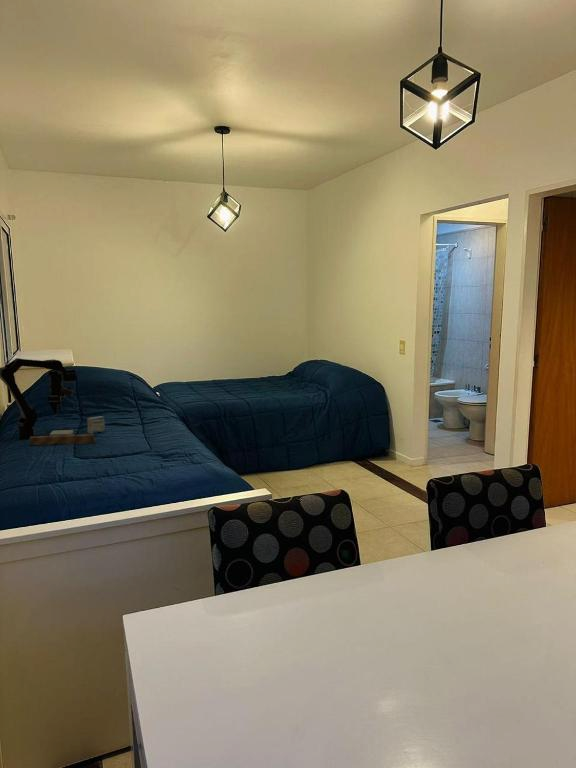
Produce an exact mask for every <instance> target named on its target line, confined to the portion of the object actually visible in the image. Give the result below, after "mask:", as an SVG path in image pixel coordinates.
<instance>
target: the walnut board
mask: <svg viewBox="0 0 576 768" xmlns="http://www.w3.org/2000/svg"><path fill="white" fill-rule="evenodd" d="M95 435H96V434H89V433H87V434H74V435H59V436H50V435H40V436H39V435H37V436H33V437H30V439H29V446H30V445H39V446H48V445H47V444H63V445H80V444H81V445H83V444H87V445H88V444H95V442H96V441H95V437H96V436H95Z"/></svg>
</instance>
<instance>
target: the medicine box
mask: <svg viewBox="0 0 576 768" xmlns="http://www.w3.org/2000/svg"><path fill="white" fill-rule="evenodd" d="M86 419H87V434H89V433H90V434H94V433H97V434H99V433H98V432H102V431H105V430H106V428H105V425H106V424H105V416H103V415H102V416H101V415H98V416H92V417H87V418H86ZM105 432H106V431H105ZM102 433H103V432H102Z"/></svg>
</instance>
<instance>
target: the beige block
mask: <svg viewBox="0 0 576 768" xmlns="http://www.w3.org/2000/svg"><path fill="white" fill-rule="evenodd" d="M59 435H75V434H74V429H62V430H61V429H59V430H57V429H56V430H52V431H51V432H50V433H49V436H59Z"/></svg>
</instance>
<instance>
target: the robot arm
mask: <svg viewBox="0 0 576 768" xmlns="http://www.w3.org/2000/svg"><path fill="white" fill-rule="evenodd" d="M21 367H28V368H40V369H43V368H44V369H47V370H48V371H47V372H46V373H45V375H46V376H49V388H50V393H49V395H48V397H46V398H47V402H48V403H49V405H50V407H51V409H52V411H53V413H54V414H57V413H58V411H60V410H61V409H60V408H61V404H62V400H63V399H64V398H65V396H67V397H69V398H70V397H72V396H73V393H74V389H73V387H71V386H68V387H64V385H63V383H74V382H77V380H78V379H77V378H78V375H77V374H76V370H75V368H74V369H72V368H70V369H66V368H65V367H64V366H63V363H62V361H61V360H59V359H45V360H40V359H39V360H38V359H28V358H27V359H25V358H18V357H16V358H15V359H13V360H12V361H11V362H9V363H7V364H6V365H5V366H1V367H0V380H1V381H2V382H3V383H4V385H6V387H7V389H8V391H9V392H10V394H11V396H12V398H13V399H14V401H15V402H16V405H17V406H18V408H19V412H20V415H21V417H20V418H19V420H18V421H17V425H18V426H19V427H18V430H19V435H18V436H19V437H18V440H27V439H29V440H30V437H33V436H35V435H36V432H35V427H34V426H35V424H36V422H37V420H38V419H39V418H38V416H39V414H38V413H37V411H36V409H35V407H33V406H29V404H28V403H27V401H26V399H25V397H24V395H23V394H22V392H21V390H20V388H19V386H18V385H17V382H16V377H15V374H16V373H17V372H18V371H19V369H20V368H21Z"/></svg>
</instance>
